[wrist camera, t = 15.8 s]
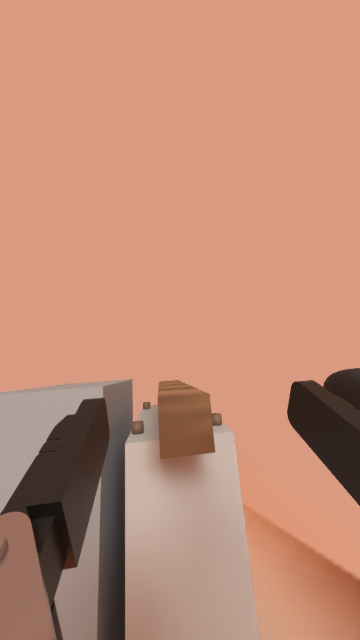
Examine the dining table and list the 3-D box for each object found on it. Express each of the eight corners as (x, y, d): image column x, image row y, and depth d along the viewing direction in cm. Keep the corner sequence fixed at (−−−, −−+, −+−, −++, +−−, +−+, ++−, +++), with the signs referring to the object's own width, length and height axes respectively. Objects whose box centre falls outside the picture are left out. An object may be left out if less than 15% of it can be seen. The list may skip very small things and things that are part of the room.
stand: (48, 635, 28) (66, 384, 36) (213, 601, 31) (194, 374, 39) (-197, 1211, 9) (-40, 397, 17) (302, 987, 11) (226, 376, 20)
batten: (160, 401, 41) (159, 381, 42) (179, 400, 41) (177, 380, 42) (160, 459, 14) (157, 398, 15) (215, 452, 14) (209, 394, 15)
